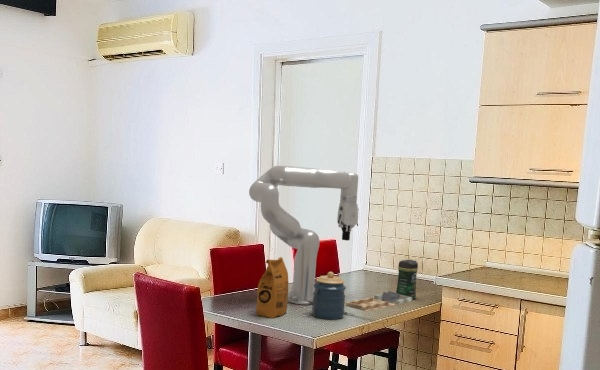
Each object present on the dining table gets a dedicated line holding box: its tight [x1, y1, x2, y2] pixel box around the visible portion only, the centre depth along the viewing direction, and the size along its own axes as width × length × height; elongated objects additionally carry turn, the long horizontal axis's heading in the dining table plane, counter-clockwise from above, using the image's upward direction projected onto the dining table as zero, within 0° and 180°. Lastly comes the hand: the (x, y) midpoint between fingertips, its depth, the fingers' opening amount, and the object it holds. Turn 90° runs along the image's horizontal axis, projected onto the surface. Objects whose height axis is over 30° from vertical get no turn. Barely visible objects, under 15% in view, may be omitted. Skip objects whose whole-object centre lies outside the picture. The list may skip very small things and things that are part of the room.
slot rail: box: [344, 293, 414, 312], centre depth 246 cm, size 36×12×3 cm, turn 137°
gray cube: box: [381, 291, 395, 303], centre depth 250 cm, size 4×4×4 cm
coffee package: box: [255, 256, 289, 319], centre depth 219 cm, size 10×12×22 cm
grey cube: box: [387, 290, 400, 302], centre depth 253 cm, size 4×4×4 cm
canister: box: [311, 271, 347, 320], centre depth 223 cm, size 13×13×18 cm
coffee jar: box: [395, 259, 419, 300], centre depth 265 cm, size 10×8×19 cm
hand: (345, 240), depth 255 cm, fingers closed
